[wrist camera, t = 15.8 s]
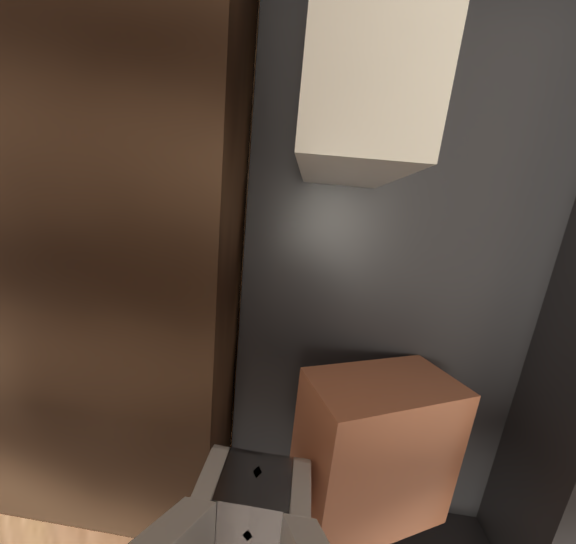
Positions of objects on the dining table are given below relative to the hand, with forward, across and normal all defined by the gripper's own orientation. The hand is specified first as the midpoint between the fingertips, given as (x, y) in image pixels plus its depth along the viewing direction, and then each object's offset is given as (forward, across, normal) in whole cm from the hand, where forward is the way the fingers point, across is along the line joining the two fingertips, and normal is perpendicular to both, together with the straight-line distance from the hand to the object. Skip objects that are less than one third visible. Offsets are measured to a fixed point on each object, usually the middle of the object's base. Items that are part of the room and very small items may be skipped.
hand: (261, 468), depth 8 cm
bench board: (+4, +7, -6) cm, 10 cm away
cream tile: (+1, 0, -11) cm, 11 cm away
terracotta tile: (+2, -3, 0) cm, 4 cm away
